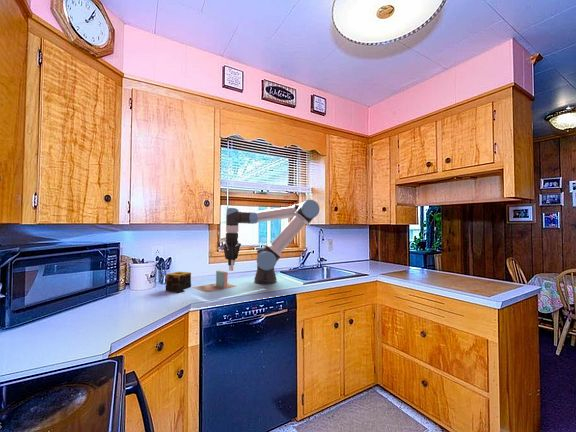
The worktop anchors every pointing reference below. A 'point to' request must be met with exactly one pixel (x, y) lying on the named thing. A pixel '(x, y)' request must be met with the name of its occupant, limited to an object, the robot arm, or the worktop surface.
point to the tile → (221, 279)
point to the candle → (178, 281)
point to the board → (212, 287)
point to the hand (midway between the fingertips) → (231, 270)
